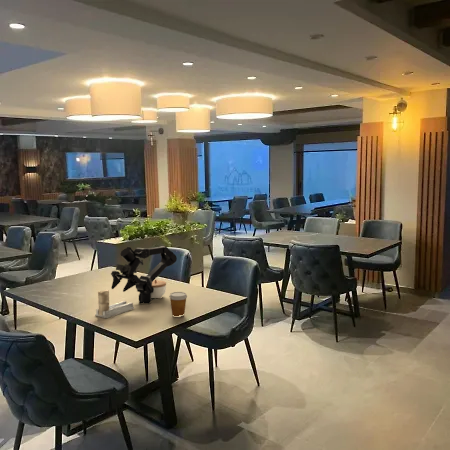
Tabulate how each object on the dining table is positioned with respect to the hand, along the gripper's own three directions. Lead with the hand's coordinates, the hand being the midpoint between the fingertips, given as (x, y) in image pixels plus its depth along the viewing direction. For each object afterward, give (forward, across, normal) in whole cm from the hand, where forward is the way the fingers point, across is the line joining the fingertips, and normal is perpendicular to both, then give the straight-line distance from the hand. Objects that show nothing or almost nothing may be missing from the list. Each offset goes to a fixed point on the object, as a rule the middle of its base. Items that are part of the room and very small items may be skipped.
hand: (117, 290), depth 253 cm
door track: (+10, 0, +7) cm, 12 cm away
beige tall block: (+15, 0, +1) cm, 15 cm away
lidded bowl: (-14, -2, +31) cm, 34 cm away
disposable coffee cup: (-1, +32, +18) cm, 37 cm away
